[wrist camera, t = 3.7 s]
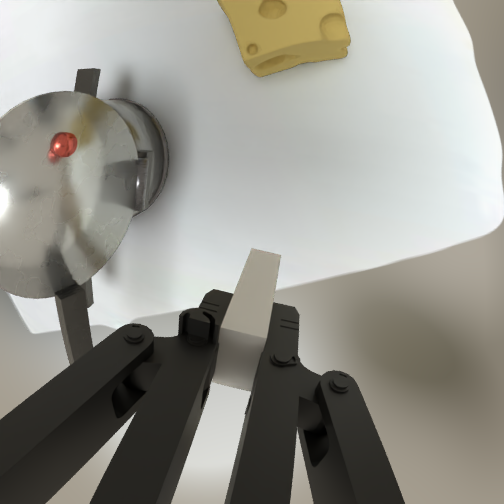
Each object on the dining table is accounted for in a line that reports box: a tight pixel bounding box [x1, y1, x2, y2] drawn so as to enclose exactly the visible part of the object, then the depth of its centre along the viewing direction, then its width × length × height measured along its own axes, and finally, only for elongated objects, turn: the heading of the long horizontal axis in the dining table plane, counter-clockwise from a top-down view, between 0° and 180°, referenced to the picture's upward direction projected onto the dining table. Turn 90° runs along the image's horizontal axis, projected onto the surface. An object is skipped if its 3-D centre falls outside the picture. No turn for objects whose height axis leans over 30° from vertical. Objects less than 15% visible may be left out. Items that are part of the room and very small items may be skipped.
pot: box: [74, 68, 169, 308], centre depth 34 cm, size 29×18×9 cm, turn 169°
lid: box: [0, 91, 149, 365], centre depth 23 cm, size 30×18×2 cm
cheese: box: [217, 0, 351, 77], centre depth 24 cm, size 10×11×10 cm
